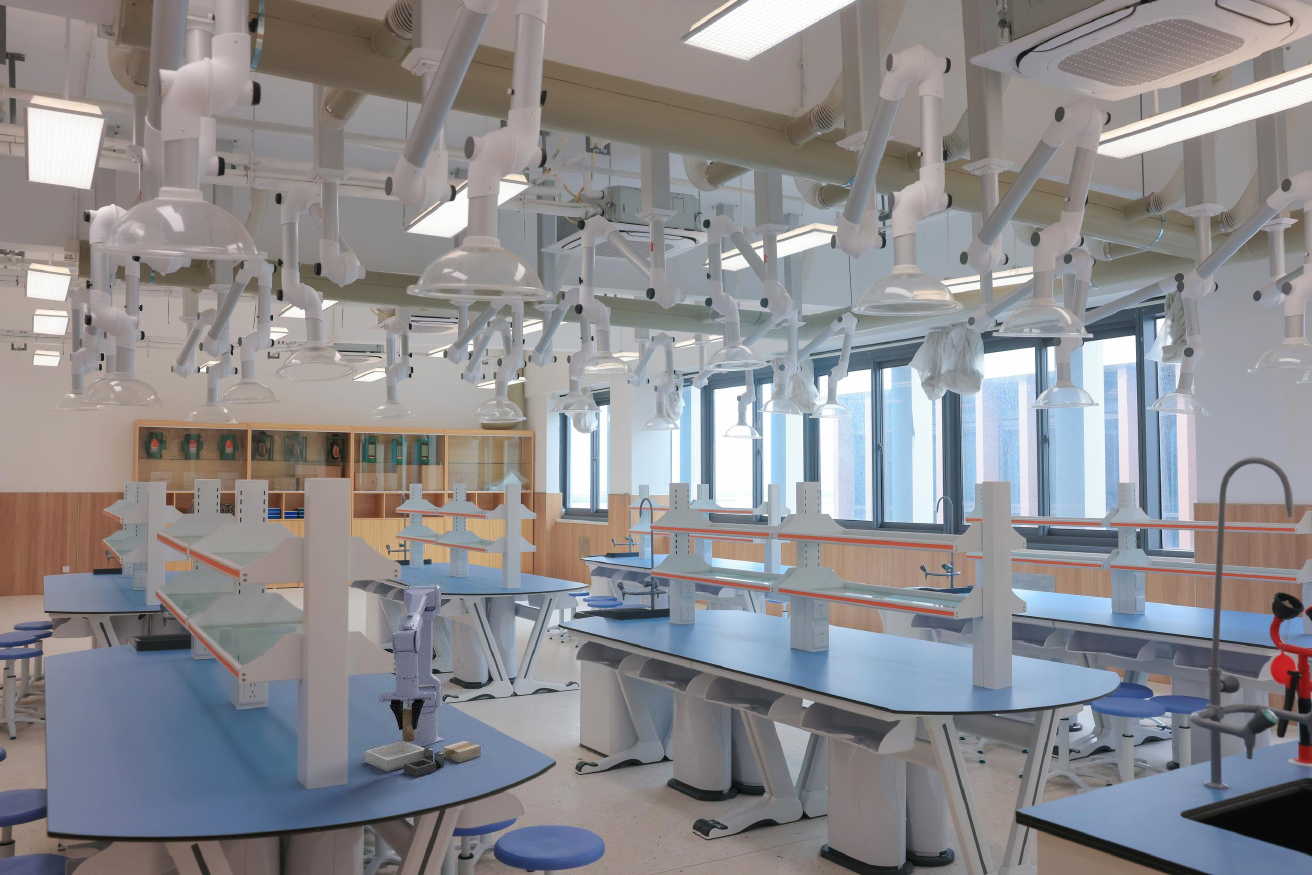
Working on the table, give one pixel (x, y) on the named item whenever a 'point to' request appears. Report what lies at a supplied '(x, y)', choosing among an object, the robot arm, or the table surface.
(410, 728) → the dowel
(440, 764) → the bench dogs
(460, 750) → the maple block
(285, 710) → the table surface
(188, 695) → the table surface
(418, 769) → the dowel collar
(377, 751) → the tray
